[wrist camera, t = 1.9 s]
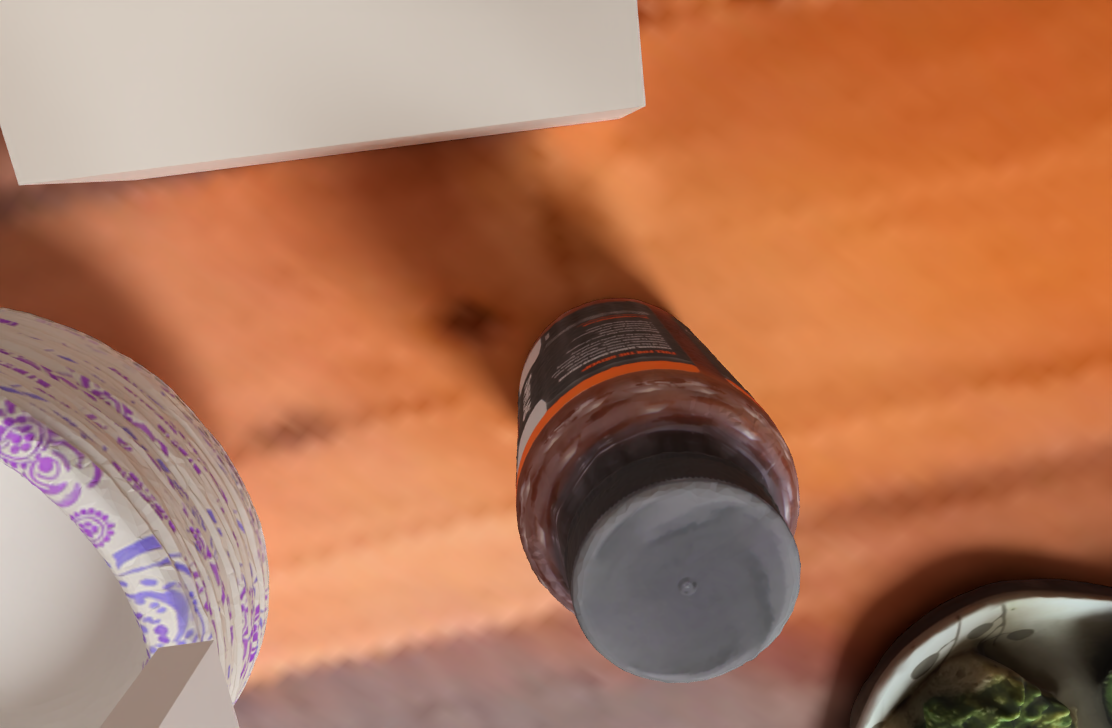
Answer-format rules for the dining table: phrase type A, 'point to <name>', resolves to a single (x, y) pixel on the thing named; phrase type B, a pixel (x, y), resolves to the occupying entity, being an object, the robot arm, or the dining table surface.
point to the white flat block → (296, 78)
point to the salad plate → (999, 662)
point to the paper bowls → (111, 530)
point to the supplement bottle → (654, 494)
